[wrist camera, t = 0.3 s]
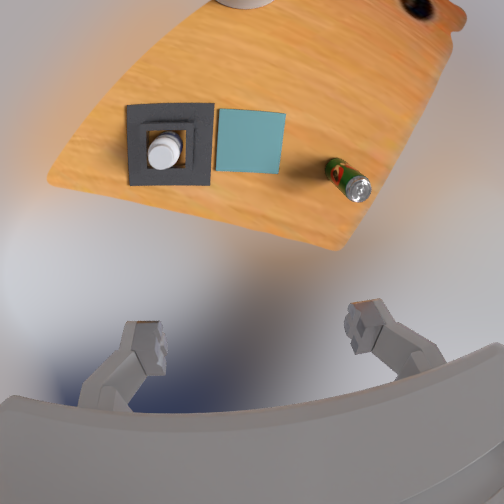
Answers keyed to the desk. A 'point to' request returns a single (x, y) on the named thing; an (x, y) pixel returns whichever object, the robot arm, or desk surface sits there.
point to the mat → (249, 141)
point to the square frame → (170, 118)
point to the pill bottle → (165, 150)
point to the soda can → (348, 180)
